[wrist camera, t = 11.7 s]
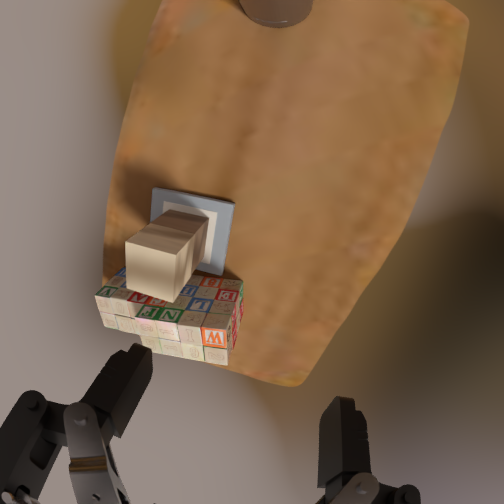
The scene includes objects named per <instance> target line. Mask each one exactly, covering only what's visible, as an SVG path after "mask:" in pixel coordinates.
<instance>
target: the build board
mask: <svg viewBox="0 0 504 504" xmlns="http://www.w3.org/2000/svg"><path fill="white" fill-rule="evenodd" d="M234 207H235V203H232V202H227V201H223V200H218V199H213V198H209V197H204V196H199V195H194V194H189V193H184V192H179V191H174V190H168V189H163V188H158V187H155V188H153V189H152V202H151V217H150V222H152V221H153V220H155V219H156V218H157V217H159V216H160V215H162V214H163V213H165V212H166V211H168V210H169V209H171V210H175V211H180V212H185V213H189V214H194V215H198V216H203V217H207V218H209V223H208V230H207V238H206V245H205V253H204V257H203V259H202V260H201V262H200V263H199V265H198V266H197V267H196V270H200V271H204V272H208V273H212V274H216V275H220V276H222V274H223V271H224V265H225V259H226V253H227V247H228V241H229V235H230V230H231V224H232V218H233V213H234Z"/></svg>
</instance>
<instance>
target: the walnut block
mask: <svg viewBox="0 0 504 504" xmlns="http://www.w3.org/2000/svg"><path fill="white" fill-rule="evenodd" d="M150 223H152V224H156V225H160V226H164V227H169V228H173V229H177V230H181V231H185V232H190V233H194V234H195V240H194V249H193V258H192V267H191V275H192V273H193V272H194V270H195V269H196V267H197V266H198V265H199V263H200V262H201V260H202V259H203V257H204V253H205V245H206V238H207V230H208V223H209V218H207V217H203V216H198V215H194V214H189V213H185V212H180V211H175V210H171V209H169V210H168V211H166V212H165V213H163V214H162V215H160V216H159V217H157V218H156V219H155V220H153V221H152V222H150Z"/></svg>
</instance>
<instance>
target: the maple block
mask: <svg viewBox="0 0 504 504" xmlns="http://www.w3.org/2000/svg"><path fill="white" fill-rule="evenodd" d="M194 240H195V234H194V233H190V232H185V231H181V230H177V229H173V228H169V227H164V226H160V225H156V224H152V223H150V224H149V225H147V226H146V227H144V228H143V229H142V230H140V231H139V232H138V233H136V234H135V235H133V236H132V237H131V238H129V239H128V240H127V241H125V253H126V285H127V288H128V289H131V290H134V291H137V292H140V293H143V294H146V295H149V296H152V297H155V298H158V299H162V300H165V301H168V302H172V303H173V302H174V301H175V299H176V298H177V296H178V295H179V293H180V292H181V290H182V289H183V287H184V286H185V284H186V283H187V281H188V280H189V278H190V277H191V267H192V258H193V249H194Z"/></svg>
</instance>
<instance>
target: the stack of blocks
mask: <svg viewBox="0 0 504 504" xmlns="http://www.w3.org/2000/svg"><path fill="white" fill-rule="evenodd" d="M95 298H96V301H97V305H98V309H99V311H100V314H101V317H102V320H103V323H104V326H105V327H109V328H113V329H118V330H120V331H125V332H129V333H134V334H138V335H140V337H141V340H142V344H143V346H146V347H148V348H151V349H152V352H155V353H159V354H165V355H170V356H176V357H183V358H186V359H192V360H197V361H206V362H208V363H214V364H221V365H228V362H229V359H230V355H231V351H232V350H233V348H234V345H235V341H236V338H237V333H238V329H239V325H240V322H241V318H242V315H243V281H240V280H231V279H223V278H216V277H207V276H198V275H191V277H190V278H189V280H188V281H187V283H186V284H185V286H184V287H183V289H182V290H181V292H180V293H179V295H178V296H177V298H176V299H175V301H174V302H173V303H172V302H168V301H165V300H162V299H158V298H155V297H152V296H149V295H146V294H143V293H140V292H137V291H134V290H131V289H128V288H127V285H126V268H122V269H121V270H120V271H119V272H118V273H116V274H115V275H114V276H113V277H112V278H111V279H110V280H109V281H108V282H107V283H106V284H105V286H103V287H102V288H101V290H100V291H98V292H97V293H96V295H95Z"/></svg>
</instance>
